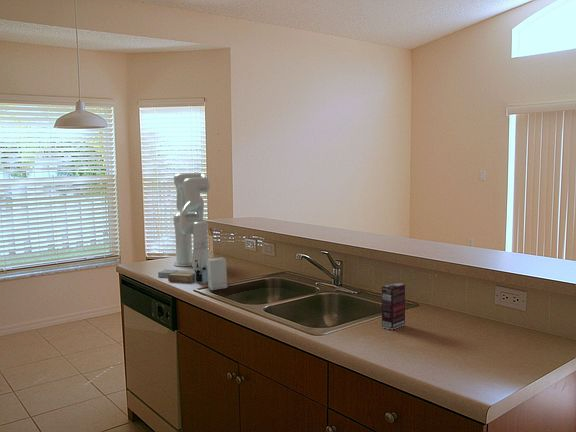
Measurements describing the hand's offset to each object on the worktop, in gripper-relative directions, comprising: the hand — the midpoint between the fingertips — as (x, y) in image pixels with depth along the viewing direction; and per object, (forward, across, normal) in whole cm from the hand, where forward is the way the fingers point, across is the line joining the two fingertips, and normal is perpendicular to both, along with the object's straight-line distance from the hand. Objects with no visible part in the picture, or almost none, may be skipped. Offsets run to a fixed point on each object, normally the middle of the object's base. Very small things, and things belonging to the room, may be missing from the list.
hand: (201, 280), depth 272 cm
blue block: (+1, 0, 0) cm, 1 cm away
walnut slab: (+1, -2, -11) cm, 11 cm away
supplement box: (+1, +46, +104) cm, 114 cm away
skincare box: (+1, +10, +14) cm, 17 cm away
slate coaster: (+1, -8, -24) cm, 26 cm away
